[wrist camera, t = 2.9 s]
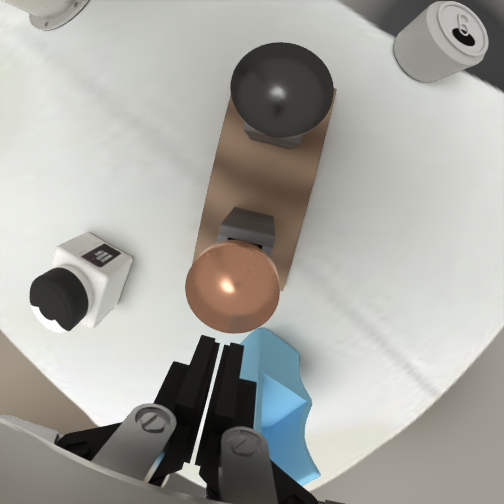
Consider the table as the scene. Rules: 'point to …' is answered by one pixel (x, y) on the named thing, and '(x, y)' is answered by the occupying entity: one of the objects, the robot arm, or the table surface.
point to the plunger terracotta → (233, 286)
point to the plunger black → (282, 90)
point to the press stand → (260, 189)
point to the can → (441, 42)
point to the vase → (279, 402)
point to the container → (80, 284)
